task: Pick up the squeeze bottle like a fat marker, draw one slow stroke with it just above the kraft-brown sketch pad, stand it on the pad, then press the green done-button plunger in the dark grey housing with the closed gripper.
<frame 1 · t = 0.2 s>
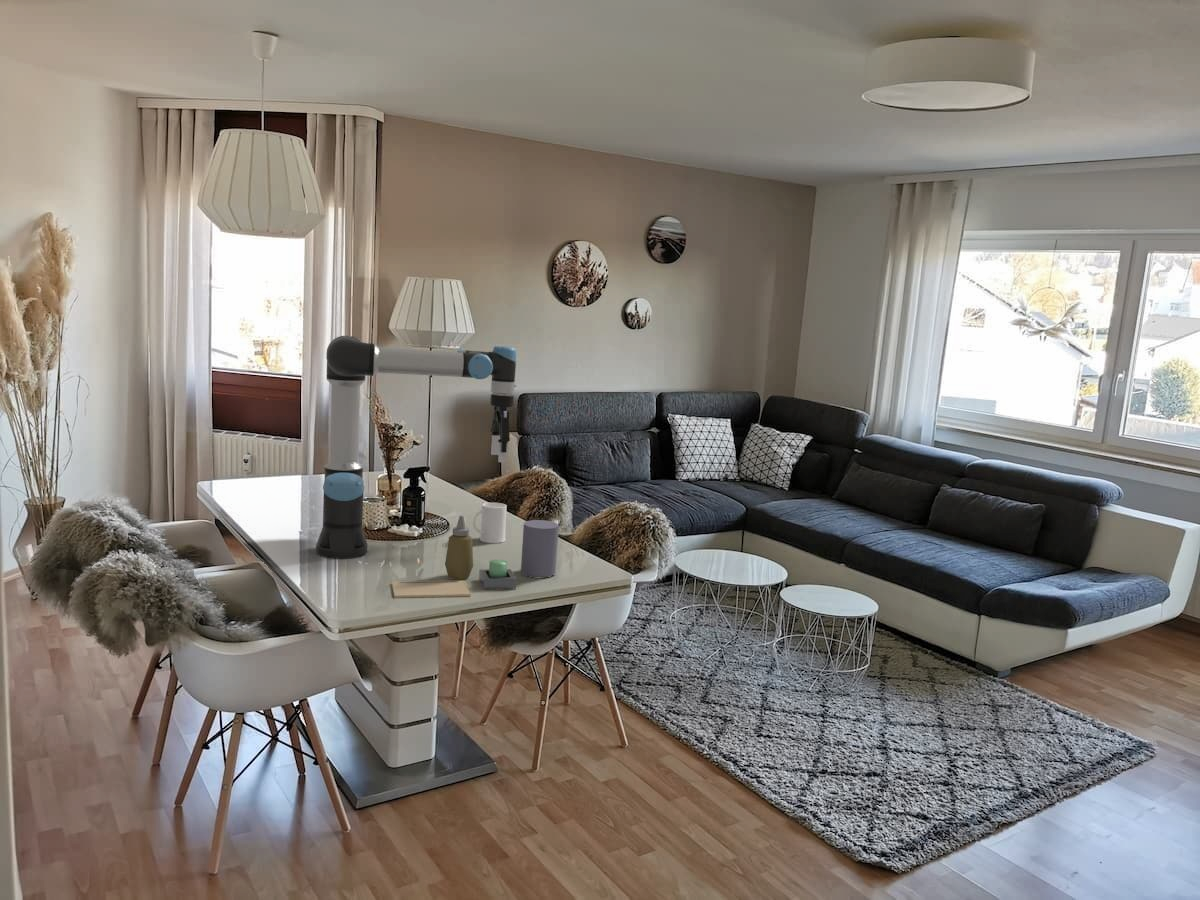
hand: (498, 458, 299), 28 cm above the table, fingers open, 13 cm apart
sketch pad: (430, 589, 248), on the table
container: (538, 573, 270), on the table
mug: (488, 541, 303), on the table
squeeze bottle: (458, 578, 261), on the table
done button: (497, 570, 256), point 4 cm above the table, slide at 0.0 cm
button housing: (497, 584, 257), on the table
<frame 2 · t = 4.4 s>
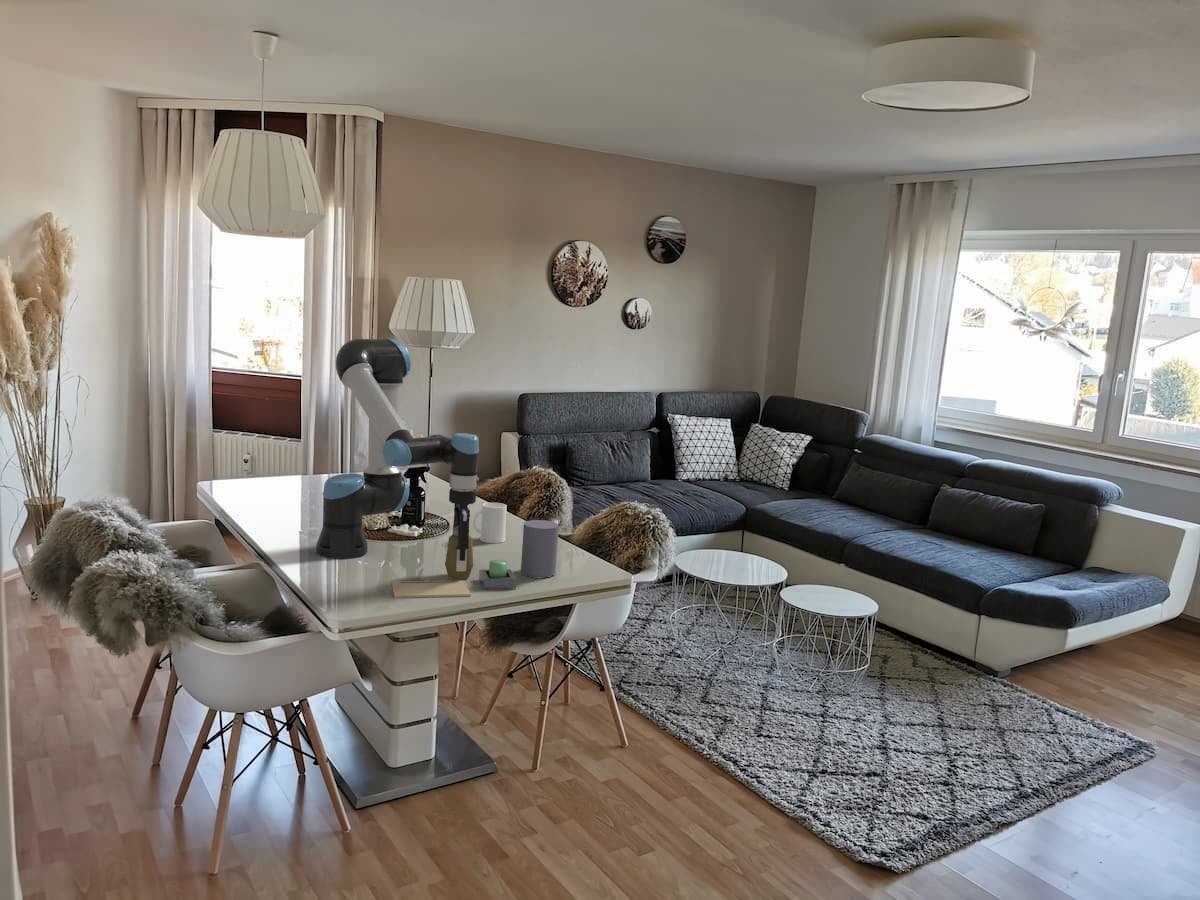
hand: (459, 566, 260), 3 cm above the table, fingers closed on squeeze bottle, 8 cm apart
squeeze bottle: (458, 578, 261), on the table, touching gripper
everything else where it was.
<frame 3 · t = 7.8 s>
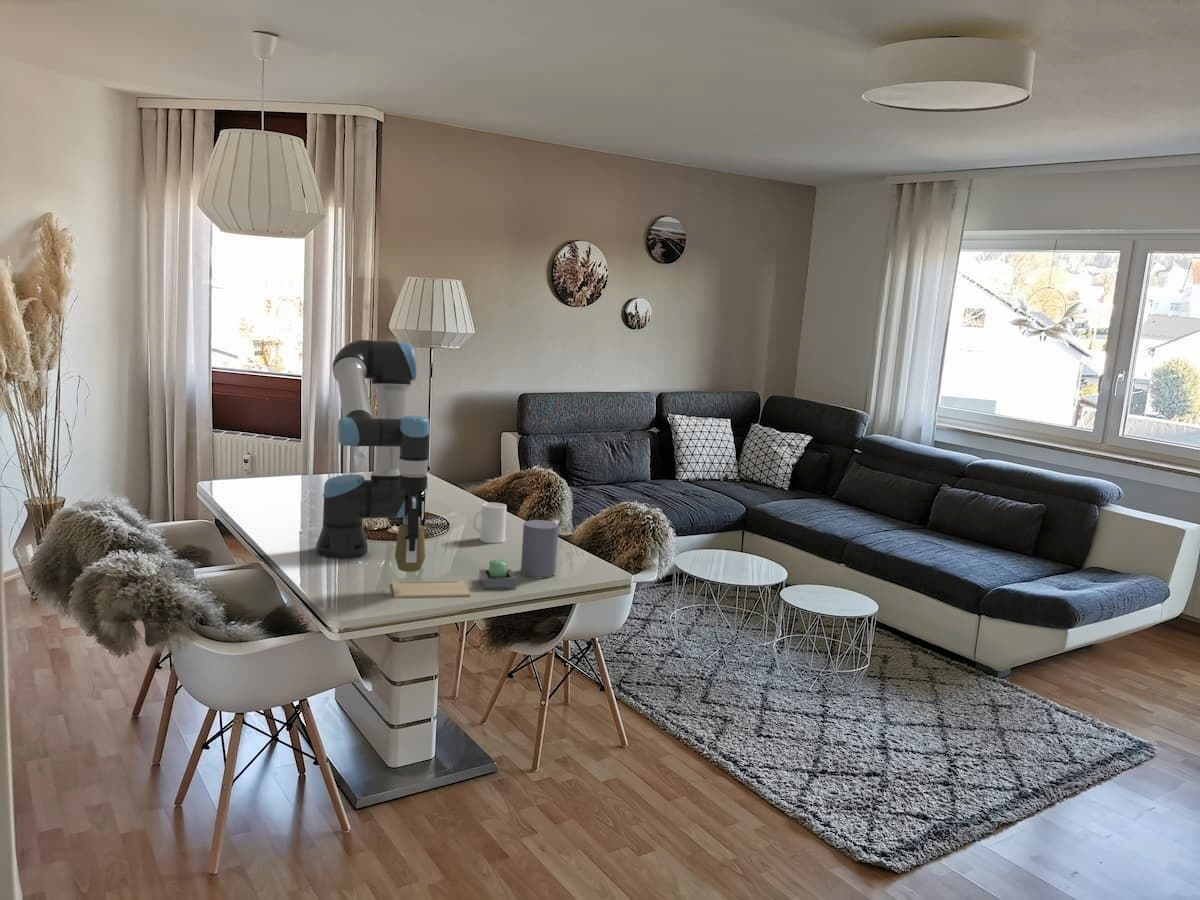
hand: (409, 557, 244), 9 cm above the table, fingers closed on squeeze bottle, 8 cm apart
squeeze bottle: (409, 570, 245), point 6 cm above the table, touching gripper
everything else where it was.
when the fingers open (5 cm above the table, at t = 11.0 s): squeeze bottle stays where it is, resting on sketch pad.
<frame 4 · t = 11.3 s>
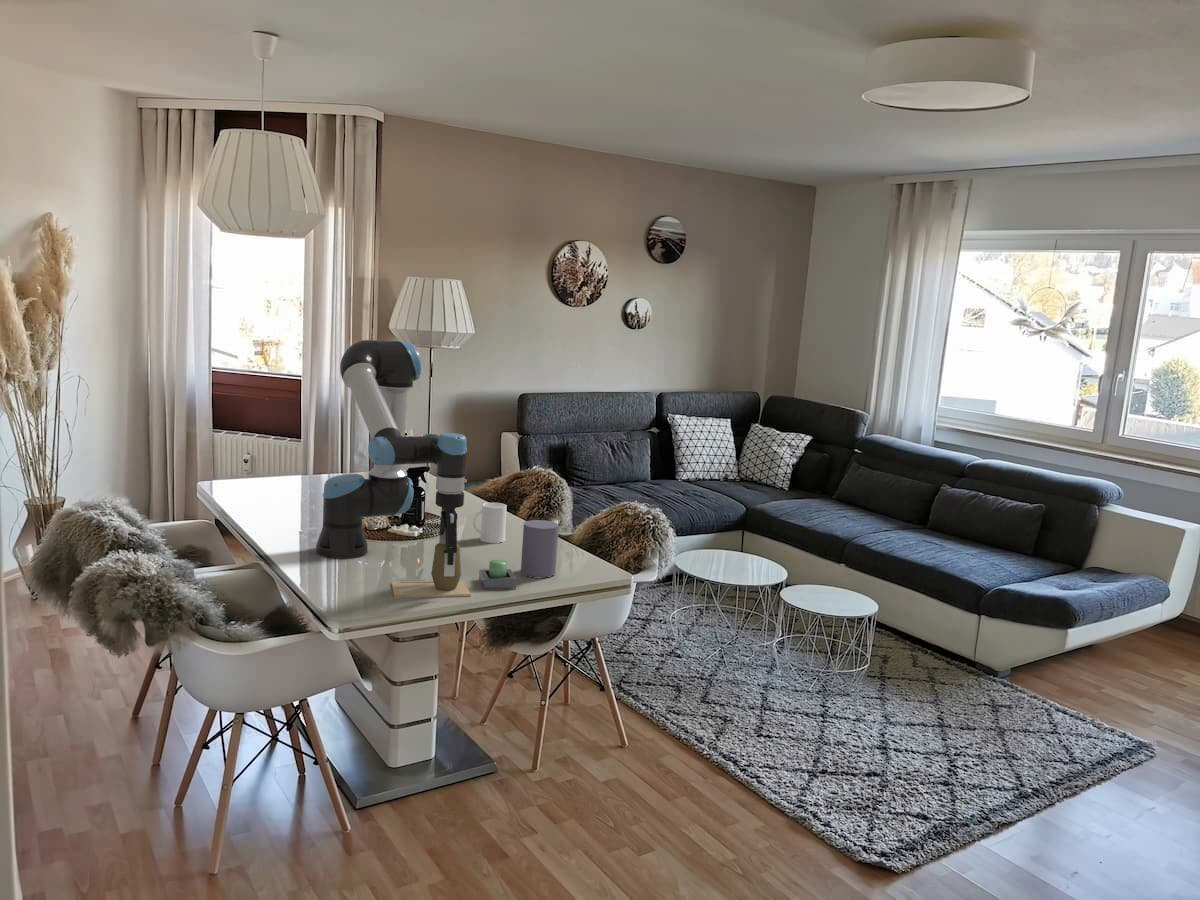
hand: (446, 569, 248), 6 cm above the table, fingers open, 11 cm apart
squeeze bottle: (445, 588, 249), resting on sketch pad
everything else where it was.
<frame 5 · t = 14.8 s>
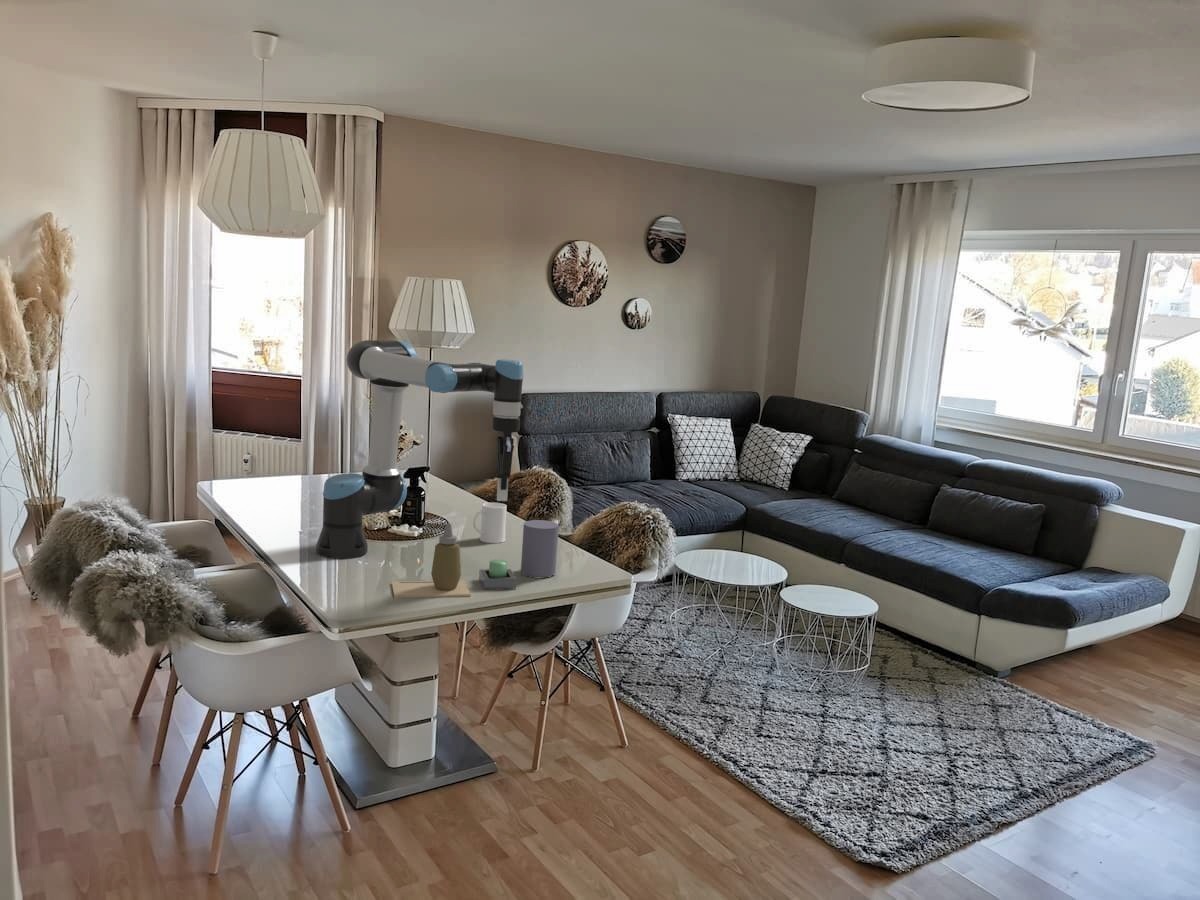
hand: (501, 500, 253), 24 cm above the table, fingers closed
nothing on the table moved.
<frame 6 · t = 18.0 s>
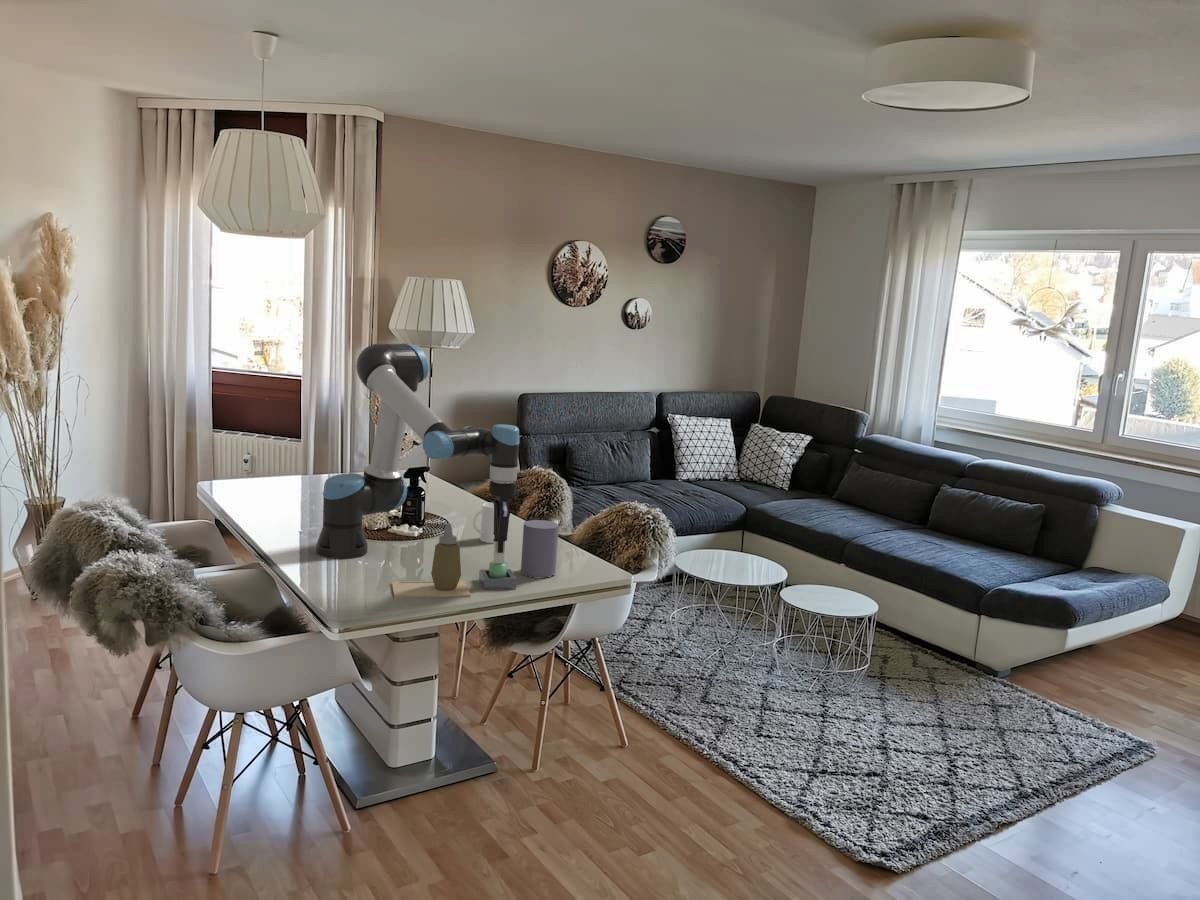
hand: (498, 562, 256), 6 cm above the table, fingers closed
done button: (497, 572, 256), point 4 cm above the table, slide at 0.4 cm, touching gripper
everything else where it was.
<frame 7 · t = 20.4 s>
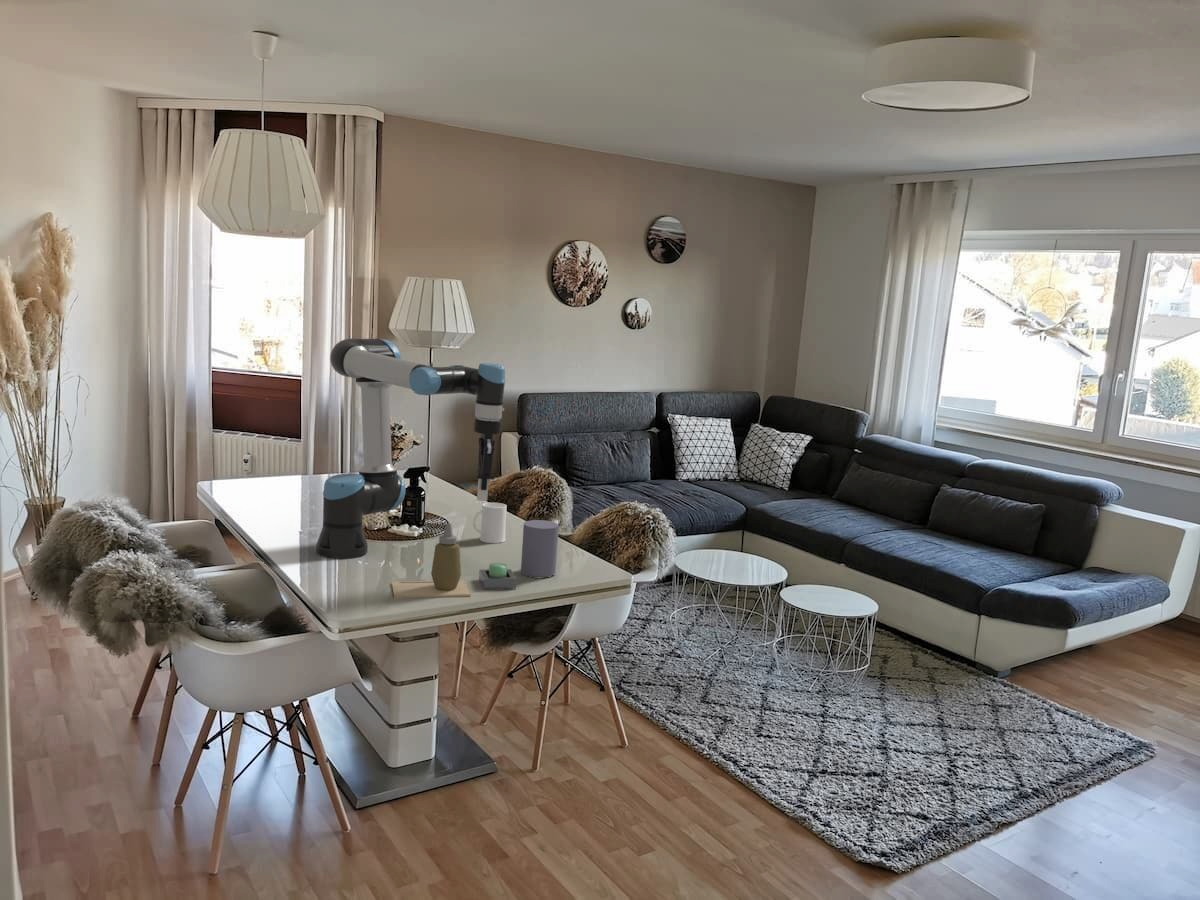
hand: (482, 500, 260), 23 cm above the table, fingers closed
done button: (497, 573, 256), point 3 cm above the table, slide at 0.9 cm
everything else where it was.
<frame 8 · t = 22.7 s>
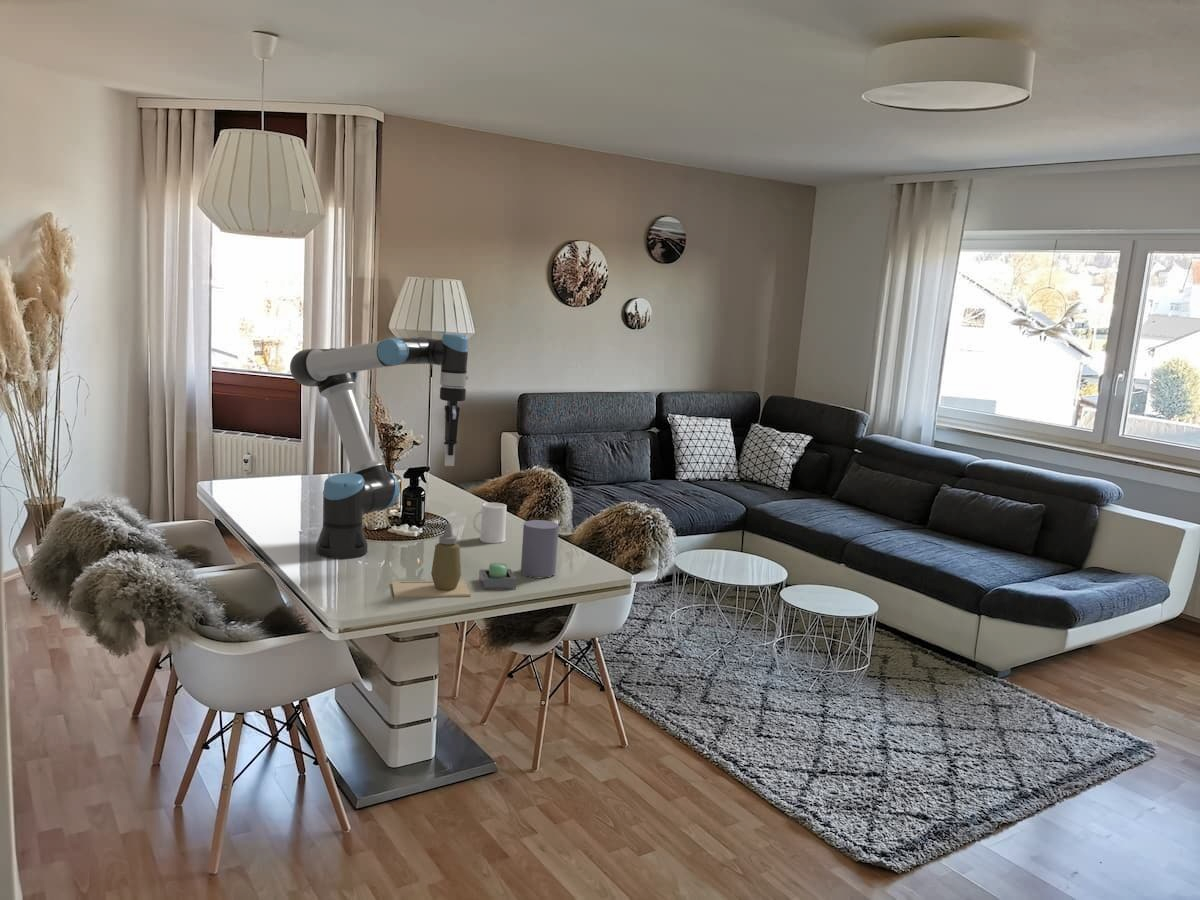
hand: (449, 465, 272), 29 cm above the table, fingers closed
nothing on the table moved.
at the end: squeeze bottle inside the target area (3.5 cm from its centre), resting on sketch pad; squeeze bottle tilted 0°; done button slide at 0.9 cm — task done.
